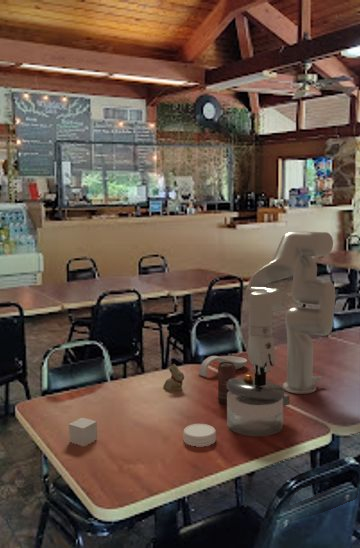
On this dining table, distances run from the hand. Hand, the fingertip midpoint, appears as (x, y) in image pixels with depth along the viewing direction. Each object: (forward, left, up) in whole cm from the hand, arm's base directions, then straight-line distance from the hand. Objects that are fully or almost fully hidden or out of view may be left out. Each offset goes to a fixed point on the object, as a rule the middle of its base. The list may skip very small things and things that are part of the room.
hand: (260, 385), depth 182 cm
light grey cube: (+56, -11, -13) cm, 59 cm away
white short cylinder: (+23, +3, -14) cm, 27 cm away
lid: (+2, 0, -2) cm, 3 cm away
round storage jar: (+1, -4, -13) cm, 14 cm away
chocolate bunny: (+14, -42, -13) cm, 46 cm away
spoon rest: (-13, -54, -14) cm, 57 cm away
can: (+1, -22, -13) cm, 26 cm away
